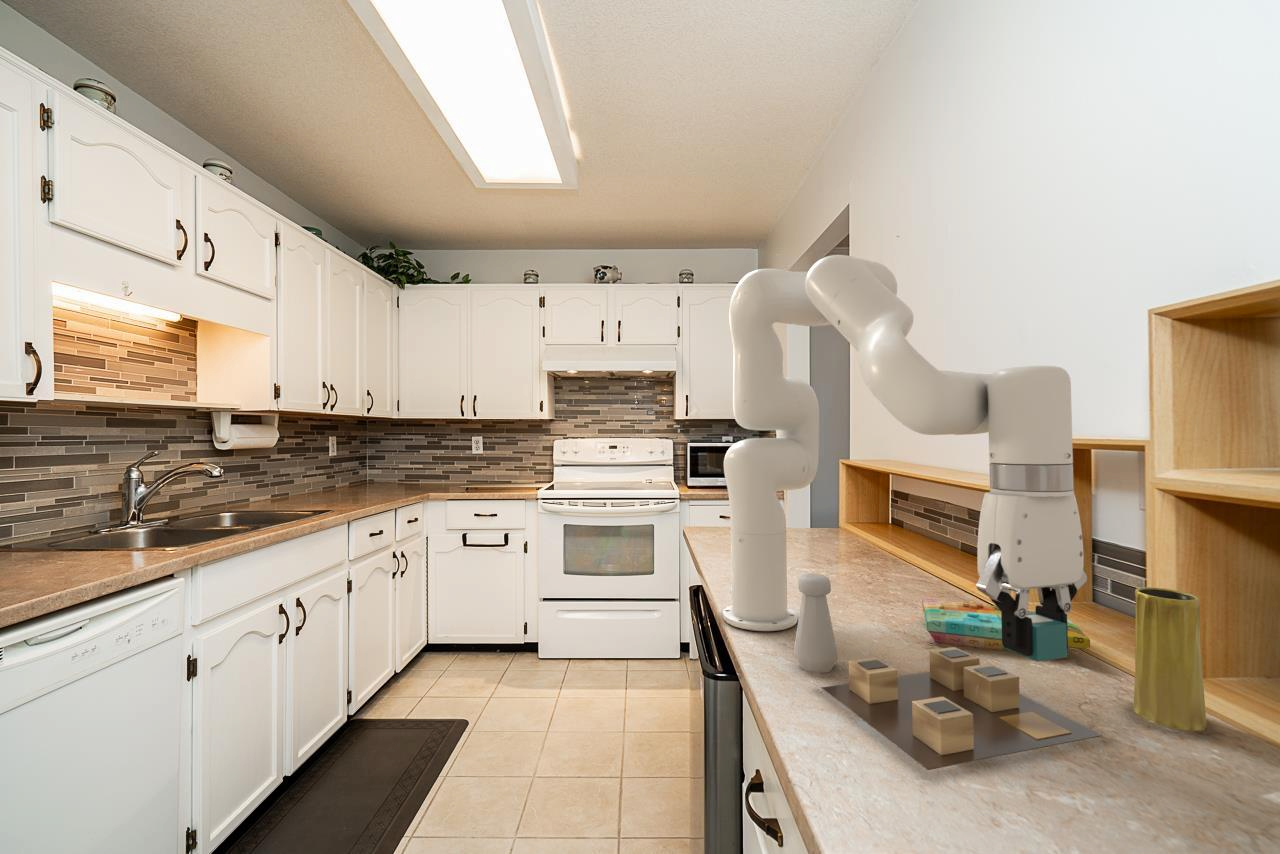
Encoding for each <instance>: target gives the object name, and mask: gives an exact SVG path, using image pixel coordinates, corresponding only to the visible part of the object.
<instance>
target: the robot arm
mask: <svg viewBox="0 0 1280 854" xmlns="http://www.w3.org/2000/svg"><path fill="white" fill-rule="evenodd" d="M897 294H898V283H897V279H896V276H895V274H894V273H893V272H892V270H891V269H890V268H888V266H886V265H885V264H883V263H881V262H877V261H873V260H868V259H864V258H860V257H856V256H851V255H846V254H845V255H844V254H832V255H828V256H824V257H823V258H820V259H818V260H817V261H816V262H815V263H814V264H813V265H812V266H811V267H810V268H809V270H808V272H807V274H806V273H801V272H796V271H791V270H787V269H780V268H759V269H755V270H753V271H750V272H748V273H747V274H745V275H744V276H743V277H742V278H741V279H740V280H739V282H738V283H737V285H736V286H735V287H734V289H733V293H732V295H731V298H730V302H729V309H728V323H729V329H730V330H729V331H730V336H731V342H732V352H733V353H732V356H733V358H732V360H733V361H732V362H733V363H732V379H733V380H732V410H733V417H734V420H735V422H736V423H737V424H738V425H739V426H740V427H741V428H743V429H745V430H751V431H775V434H776V437H754V438H745V439H742V440H739V441H736V442H735V443H733V444H732V445H731V446H730V447H729V448H728V450H726V453H725V455H724V457H723V474H724V479H725V483H726V484H725V485H726V488H727V493H728V502H729V503H728V504H729V519H730V521H729V523H730V525H729V526H730V572H731V573H730V577H731V578H730V579H731V581H730V583H731V585H730V587H731V589H730V593H729V594H731V604H730V605H728V606H726V607H725V608H724V609H723V610H722V618H723V620H724V621H725V622H726V623H727V624H728V625H731V626H733V627H735V628H739V629H742V630H747V631H754V632H755V631H756V632H776V631H785V630H787V629H790V628H793V627H794V626H795V625H796V624H797V623H798V615H797V613H796V612H795V611H794V610H793V609H791V608H789V607H788V555H787V553H788V551H787V519H786V513H785V510H784V508H783V505H782V504H781V501H780V500H779V496H778V495H777V492H784V491H786V492H787V491H794V490H795V491H796V490H801V489H804V488H807V487H808V486H809V485H810V484H811V483H812V482H813V481H814V479H815V477H816V475H817V472H818V469H819V461H820V460H819V458H820V457H819V453H820V405H819V400H818V397H817V394H816V392H815V390H814V388H813V387H812V386H811V385H810V384H809V383H808V382H807V381H805V380H803V379H801V378H796V377H787V376H786V377H785V376H784V352H783V346H782V343H781V340H780V338H779V336H778V334H777V332H776V331H775V329H774V327H773V325H774V324H775V323H781V324H786V325H795V326H804V327H824V326H833V327H834V328H835V329H836V330H837V332H839V333H840V334H841V336H843V338H845V339H846V341H847V342H848V343H850V346H852V347H853V348H854V349H855V350H856V351H857V353H858V356H857V357H858V365H859V369H860V373H861V376H862V379H863V381H864V384H865V385H866V387H867V388H868V390H869V391H870V393H871V394H872V395H873V396H874V397H875V399H877V400H878V401H879V403H880V404H881V405H882V406H883V407H884V408H885V410H887V412H888V413H890V414H891V416H893V417H894V418H895V420H897V421H898V422H899V423H901V425H903V426H905V427H906V428H907V429H909V430H910V431H913V432H915V433H918V434H921V435H927V436H940V435H941V436H943V435H955V436H956V435H957V436H959V435H961V436H962V435H963V436H964V435H978V434H979V435H980V434H986V433H988V458H989V459H988V460H989V492H984V495H983V499H982V502H981V507H980V508H981V509H980V514H979V522H978V529H977V530H978V531H977V551H976V553H977V556H976V559H977V561H976V564H977V574H978V580H977V582H976V585H975V587H976V590H977V591H979V592H980V593H982V594H983V595H984V596H986V597H988V598H989V600H990V601H991V602H992V603H993V604H994V606H996V609H997V610H998V611H1001V620H1002V645H1003V646H1004V647H1005V648H1007V649H1010V650H1012V651H1011V652H1013V651H1015V652H1017V653H1016V654H1018V653H1020V654H1022V655H1024V656H1023V657H1025V656H1031V655H1032V618H1029V617H1026V615H1027V610H1029V609H1028V607H1029V601H1030V600H1029V599H1030V592H1031V590H1032V589H1037V594H1038V595H1037V596H1038V600H1039V604H1040V605H1035V609H1034V610H1035V614H1038V615H1041V616H1045V617H1048V618H1051V619H1054V620H1057V621H1060V622H1063V623H1066V632H1067V650H1069V648H1068V631H1067V617H1068V614H1069V613H1070V612H1071V611H1072V608H1073V605H1072V601H1073V600H1074V598H1075V597H1076V595H1077V594H1078V591H1079V590H1080V589H1081V588H1082V587H1083V586H1084V585H1085V584H1086V583H1087V581H1088V575H1087V574H1086V572H1085V570H1084V565H1085V563H1084V562H1085V561H1084V560H1085V558H1084V557H1085V556H1084V555H1085V554H1084V539H1083V532H1082V531H1083V530H1082V523H1081V517H1080V511H1079V506H1078V501H1077V498H1076V493H1075V490H1074V489H1075V488H1074V487H1075V486H1074V451H1073V449H1074V448H1073V447H1074V446H1073V415H1072V414H1073V413H1072V412H1073V411H1072V385H1071V377H1070V374H1069V372H1068V370H1066V369H1065V368H1063V367H1061V366H1056V365H1025V366H1024V365H1023V366H1013V367H1007V368H1002V369H999V370H996V371H994V372H993V373H992V374H990V373H975V372H963V371H953V370H952V371H951V370H939V369H938V368H937V367H936V366H934V365H933V364H931V363H930V361H928V360H927V359H926V358H925V357H924V356H923V355H922V354H921V353H919V351H917V350H916V349H915V348H914V347H913V345H912V344H910V342H909V341H908V340H907V336H908V335H909V333H910V331H911V329H912V327H913V325H914V314H913V311H912V309H911V307H910V306H909V305H907V303H905V302H904V301H903V300H902V299H901V298H900V297H898V296H897ZM1011 591H1012V592H1015V597H1013V596H1012V595H1011ZM1015 652H1014V653H1015ZM1020 654H1019V655H1020ZM1022 655H1021V656H1022Z"/></svg>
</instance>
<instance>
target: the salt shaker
mask: <svg viewBox="0 0 1280 854" xmlns="http://www.w3.org/2000/svg"><path fill="white" fill-rule="evenodd" d="M797 586H798V591H799V592H800V593H802V596H801V602H800V607H799V613H798V619H797V626H796V627H797V628H796V634H795V640H794V645H793V646H794V647H793V652H794V657H795V659H796V661H797V663H798V665H799V667H801V669H802V670H804V671H807V672H811V673H815V674H821V673H828V672H829V673H830V672H831V671H832V670H833V668H834V666H835V664H836V662H837V661H838V659H839V658H838V657H839V653H838V648H837V644H836V640H835V635H834V629H833V624H832V619H831V614H830V613H831V612H830V609H829V604H828V599H827V595H829V594H830V593H831V591H832V590H831V589H832V584H831V580H830V578H829V577H828V576H826V575H824V574H820V573H810V572H809V573H803V574H801V575H800V576H799V577H798V581H797Z"/></svg>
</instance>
